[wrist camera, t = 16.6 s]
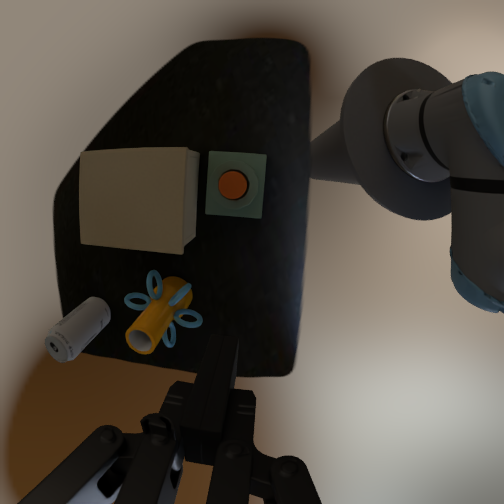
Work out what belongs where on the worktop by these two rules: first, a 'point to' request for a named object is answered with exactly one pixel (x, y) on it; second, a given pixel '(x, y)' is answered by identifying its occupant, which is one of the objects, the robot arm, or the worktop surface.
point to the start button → (232, 185)
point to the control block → (255, 176)
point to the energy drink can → (77, 329)
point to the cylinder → (160, 313)
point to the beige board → (134, 198)
